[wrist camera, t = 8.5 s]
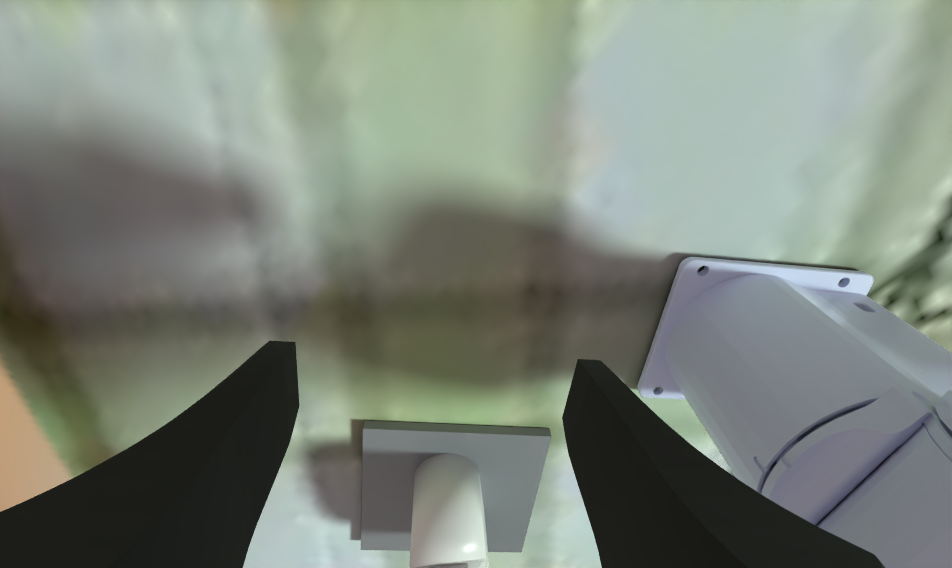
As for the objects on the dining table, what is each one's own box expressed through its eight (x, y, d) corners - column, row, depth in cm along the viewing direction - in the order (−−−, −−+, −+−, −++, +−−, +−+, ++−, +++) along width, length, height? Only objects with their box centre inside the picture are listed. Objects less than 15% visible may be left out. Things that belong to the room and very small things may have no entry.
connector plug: (475, 449, 27) (484, 555, 22) (486, 529, 30) (496, 637, 25) (409, 457, 27) (402, 565, 22) (427, 536, 30) (425, 646, 25)
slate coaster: (549, 428, 27) (551, 436, 27) (520, 543, 32) (521, 552, 32) (364, 420, 26) (362, 428, 26) (362, 540, 31) (360, 549, 31)
